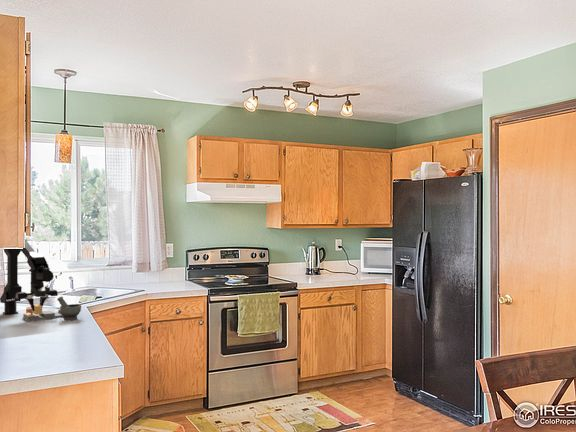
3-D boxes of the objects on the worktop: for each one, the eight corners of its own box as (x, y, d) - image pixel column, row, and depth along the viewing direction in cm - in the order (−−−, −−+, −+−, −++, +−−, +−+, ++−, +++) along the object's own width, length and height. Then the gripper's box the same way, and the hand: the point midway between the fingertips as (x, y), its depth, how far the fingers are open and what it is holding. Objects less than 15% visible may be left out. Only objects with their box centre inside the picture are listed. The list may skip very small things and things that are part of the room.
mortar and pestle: (79, 316, 265) (79, 293, 265) (82, 320, 257) (82, 296, 257) (56, 319, 259) (56, 295, 259) (58, 322, 251) (58, 298, 251)
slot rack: (23, 318, 262) (23, 313, 262) (64, 313, 275) (64, 308, 275) (28, 321, 254) (28, 315, 254) (69, 316, 267) (69, 311, 267)
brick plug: (26, 314, 273) (26, 307, 273) (32, 314, 275) (32, 306, 275) (26, 317, 265) (26, 309, 265) (32, 316, 267) (32, 309, 267)
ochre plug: (42, 313, 259) (42, 306, 259) (35, 314, 257) (35, 306, 257) (37, 311, 266) (37, 303, 266) (31, 312, 264) (31, 304, 264)
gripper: (20, 283, 249) (20, 315, 249) (60, 280, 261) (60, 311, 261) (15, 281, 258) (15, 312, 258) (54, 278, 270) (54, 308, 270)
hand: (36, 311), depth 261 cm, fingers closed on ochre plug, 3 cm apart
